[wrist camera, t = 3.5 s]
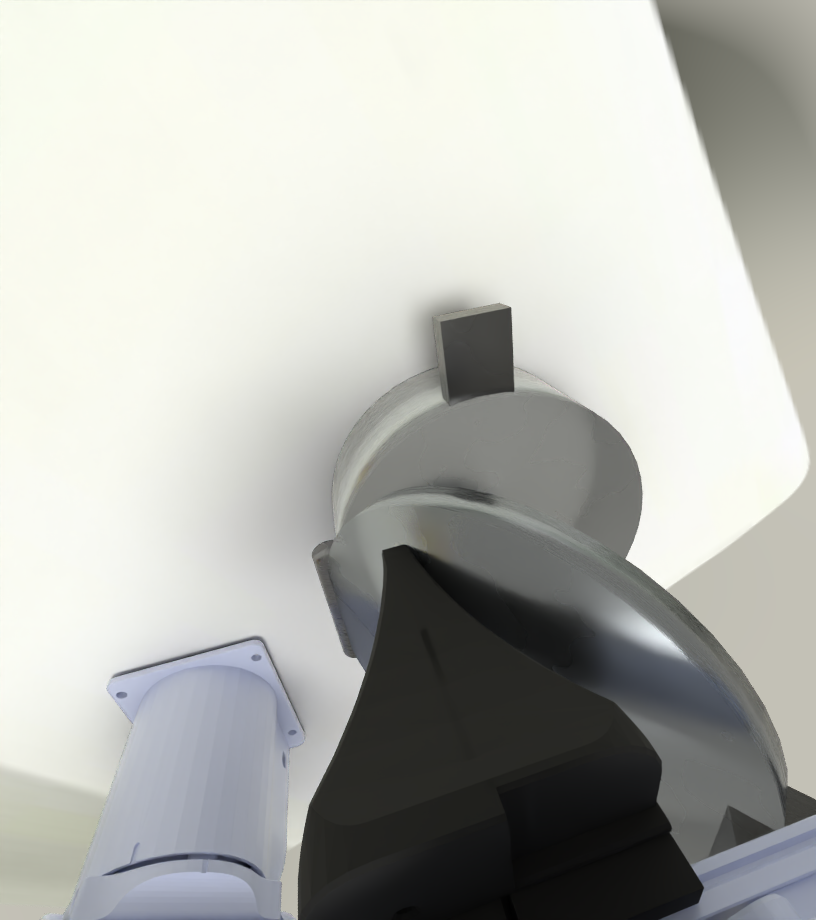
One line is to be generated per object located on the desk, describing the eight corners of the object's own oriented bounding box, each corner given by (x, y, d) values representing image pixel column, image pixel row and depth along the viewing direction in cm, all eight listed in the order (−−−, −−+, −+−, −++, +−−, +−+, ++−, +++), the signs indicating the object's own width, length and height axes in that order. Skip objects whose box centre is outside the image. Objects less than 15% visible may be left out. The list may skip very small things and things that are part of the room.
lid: (872, 1026, 11) (875, 1094, 10) (374, 687, 21) (357, 708, 20) (1300, 703, 5) (1393, 815, 4) (300, 440, 15) (271, 457, 14)
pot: (575, 589, 28) (624, 652, 23) (371, 646, 26) (384, 725, 22) (587, 268, 19) (669, 278, 15) (280, 329, 17) (273, 359, 13)
